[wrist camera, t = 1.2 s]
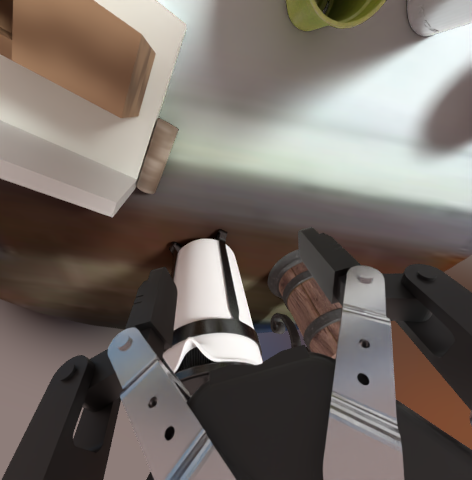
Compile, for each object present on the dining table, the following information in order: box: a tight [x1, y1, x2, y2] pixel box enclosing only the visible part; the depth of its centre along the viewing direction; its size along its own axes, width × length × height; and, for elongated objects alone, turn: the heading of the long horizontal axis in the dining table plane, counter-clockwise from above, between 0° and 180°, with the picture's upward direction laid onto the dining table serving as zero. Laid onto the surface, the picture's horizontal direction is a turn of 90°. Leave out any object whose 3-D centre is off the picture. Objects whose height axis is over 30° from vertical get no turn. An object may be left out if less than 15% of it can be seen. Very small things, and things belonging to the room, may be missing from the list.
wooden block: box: [136, 118, 179, 194], centre depth 29 cm, size 10×3×3 cm
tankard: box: [268, 250, 342, 359], centre depth 42 cm, size 24×17×20 cm
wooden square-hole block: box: [0, 0, 156, 118], centre depth 19 cm, size 7×14×7 cm, turn 60°
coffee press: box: [163, 229, 263, 396], centre depth 30 cm, size 17×16×30 cm
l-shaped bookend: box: [0, 0, 187, 217], centre depth 20 cm, size 21×18×10 cm
